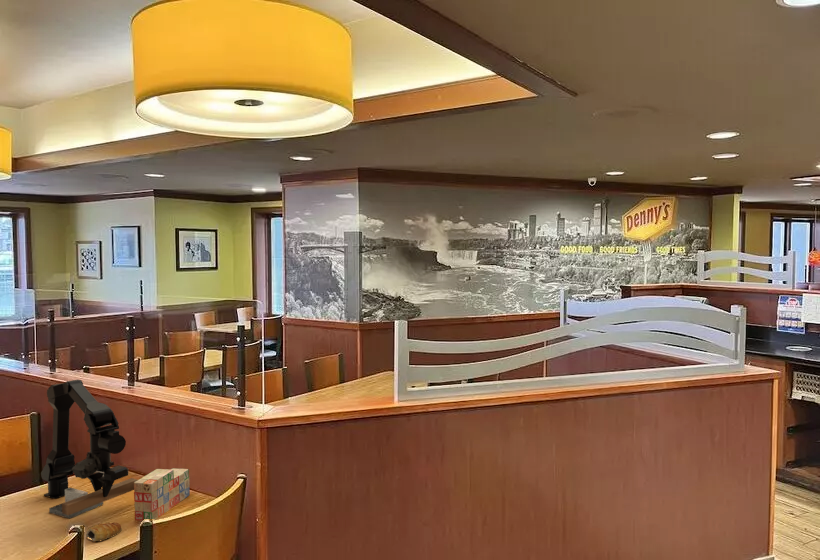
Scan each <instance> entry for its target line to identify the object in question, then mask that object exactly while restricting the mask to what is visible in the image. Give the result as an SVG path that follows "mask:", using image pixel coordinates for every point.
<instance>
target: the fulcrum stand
mask: <svg viewBox="0 0 820 560" xmlns="http://www.w3.org/2000/svg"><path fill="white" fill-rule="evenodd" d="M87 494H89V493H88V491H85V490H81V489H77V488H73V487H68V488H67V489H65V495H64V502H63V503H65V502H68V501H70V500H73V499H76V498H79V497H81V496H84V495H87ZM102 504H103V505H104V502H101V503H99V504H96V505H94V506H91V507H89V508H86V509H83V510H81V511H78V512H76V513H73V514H70V515H66V514H63V513H62V503H58V504H57V505H54V506H52V507H49V511H48V512H49V514H52V515H55V516H59V517H61V518H62V517H63V518H66V519H72V518H75V517H77V516H79V515H82V514H84V513H86V511H87V512H89V511H91V510H93V509H96V508H99V507H101V506H103V505H102ZM100 505H101V506H100ZM98 506H99V507H98Z"/></svg>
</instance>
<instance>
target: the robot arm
mask: <svg viewBox="0 0 820 560" xmlns="http://www.w3.org/2000/svg"><path fill="white" fill-rule="evenodd" d="M46 397H47V400H48V401H47V402H48V403H49V404H50V406H51V407H52V409H53V410H52V411H53V415H52V449H51V450H50V452H49V453H48V455H47V457H46V462H45V464H44V467H43V468H42V471H41V472H40V475H41V479H42V480H44V481H45V482H47V492H46V493H43V496H44V497H46V498H47V497H48V498H50V499H55V500H56V499H59V498H61V497H65V489H67V488H69V477H68V476H72V475H74V476H75V478H79V479H82V480H85V479H88V480H89V481H90V483H91V487H92V488H93V490H94V491H93V492H95V491H98V490H100V489H102V491H103V497H107V496H108V494H109V491H110V489H111V487H112V485H114V484H115V481H118V480H120V479H122V478H126V477H127V476H129V468H128V467H126V466H123V465H116V466H115V462H114V461H113V460H112V459H111V457H112V456H111V454H113V455H118V454H121V452H123V451H124V449H125V447H126V441H127V440H126V438H125V437H124V435H121V434H120V431H119V429H120V426H119V423H120V422H119V421H118V419H117V417H116V414H115V413H114V411H113V410H112V408H110V406H108V405H107V404H105V403H102V402H99V401H98V400H97V399H96V398H95V397H94V396H93V395H92V394H91V392H90V391H89V390H88V389H87V388H86V386H84V383H83V381H82V380H81V379H74V380H73V379H72V380H67V381H65V382H62V383H56V384H51V385H50V386H49V387H48V389H47V390H46ZM74 403H75V404H76V405H77V407H78V408H79V409H80V410H81V411H82V412H83V414H84V416H83V421H84V423H85V425H86V427H87V428H88V429H87V433H89V449H90V450H89V451H87V453H86V458H85V459H83V460H81V461H78V462H75V455H74V454H73V453H72V452H71V450H70V449H69V442H70V441H69V439H70V413H71V412H70V411H71V408H72V406H73V405H74ZM111 460H112V461H111ZM112 466H113V467H112Z"/></svg>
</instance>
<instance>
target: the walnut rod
mask: <svg viewBox="0 0 820 560" xmlns="http://www.w3.org/2000/svg"><path fill="white" fill-rule="evenodd" d="M137 480H138V479H137V478H133V477H131V478H128V479H125V480H122V481H119V482H118V483H113V485H112V487H111V489H110V491H109V494H108V496H107V497H103V491H102V489H100V490H98V491H92V492H90V493H88V494H87V495H84V496H81V497H79V498H76V499H73V500H70V501H68V502H65V501H64V502H65V503H64V502H61V504H62V513H63V514H66V515H70V514H73V513H76V512H78V511H81V510H83V509H86V508H89V507H91V506H94V505H96V504H99V503H101V502H103V503H104V502H106V501H109V500H111V499H114V498H117V497H119V496H122V495H125V494H127V493H130V492H132V491H134V482H136V481H137Z"/></svg>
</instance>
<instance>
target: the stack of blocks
mask: <svg viewBox="0 0 820 560" xmlns="http://www.w3.org/2000/svg"><path fill="white" fill-rule="evenodd" d="M189 473H190V469H188V468H171V469H167V468H165V469H163V468H156V469H155V470H152V471H151V472H150V473H148V474H146V475H144V476H143V477H141V478H140V479H137V481H136V482H134V490H133V491H134V492H133V499H134V501H133V502H134V520H135V521H142V520H144V519H155V520H156V519H158V518H160V517H161V516H162V515H164V514H166V513H167V512H168V511H169V510H171V509H172V508H173V507H175V506H176V505H177V504H179V503H180V502H182V501H183V500H184V499H186V498H188V497H189V496H190V474H189Z"/></svg>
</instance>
